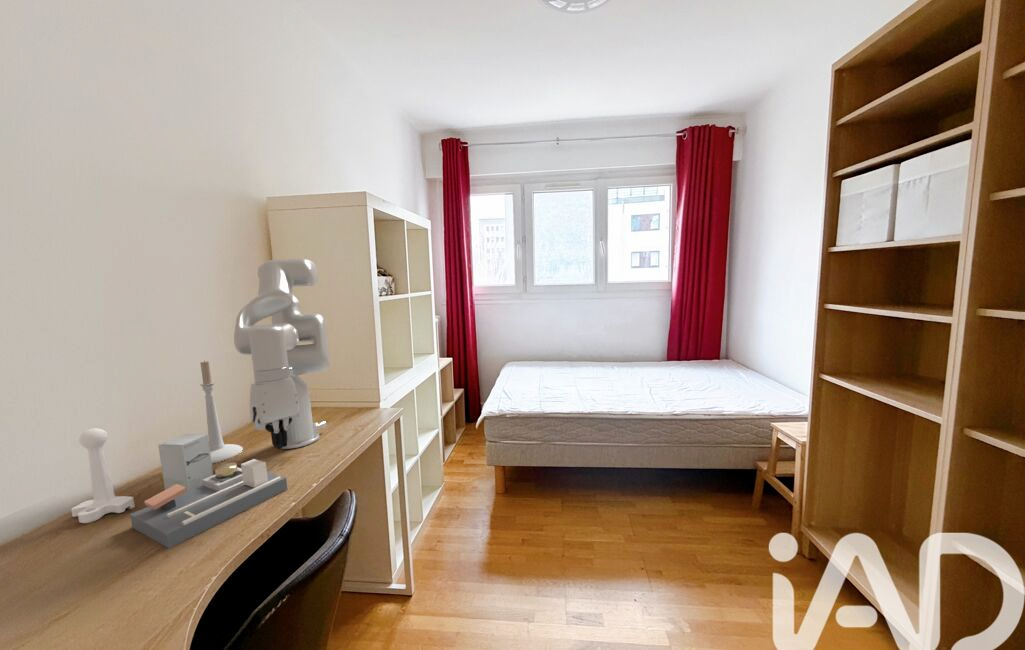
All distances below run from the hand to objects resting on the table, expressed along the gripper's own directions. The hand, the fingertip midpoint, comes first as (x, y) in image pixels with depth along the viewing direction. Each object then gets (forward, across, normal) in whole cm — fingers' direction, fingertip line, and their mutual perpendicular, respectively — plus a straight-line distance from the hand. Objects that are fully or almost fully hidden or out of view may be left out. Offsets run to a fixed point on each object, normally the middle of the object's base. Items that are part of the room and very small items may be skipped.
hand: (280, 446), depth 100 cm
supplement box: (+10, +10, -24) cm, 28 cm away
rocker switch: (+5, +20, -9) cm, 23 cm away
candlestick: (+9, -3, -38) cm, 40 cm away
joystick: (+10, +26, -28) cm, 40 cm away
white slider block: (+7, +6, -1) cm, 9 cm away
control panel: (+10, +13, -5) cm, 18 cm away
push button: (+5, +8, -9) cm, 14 cm away
